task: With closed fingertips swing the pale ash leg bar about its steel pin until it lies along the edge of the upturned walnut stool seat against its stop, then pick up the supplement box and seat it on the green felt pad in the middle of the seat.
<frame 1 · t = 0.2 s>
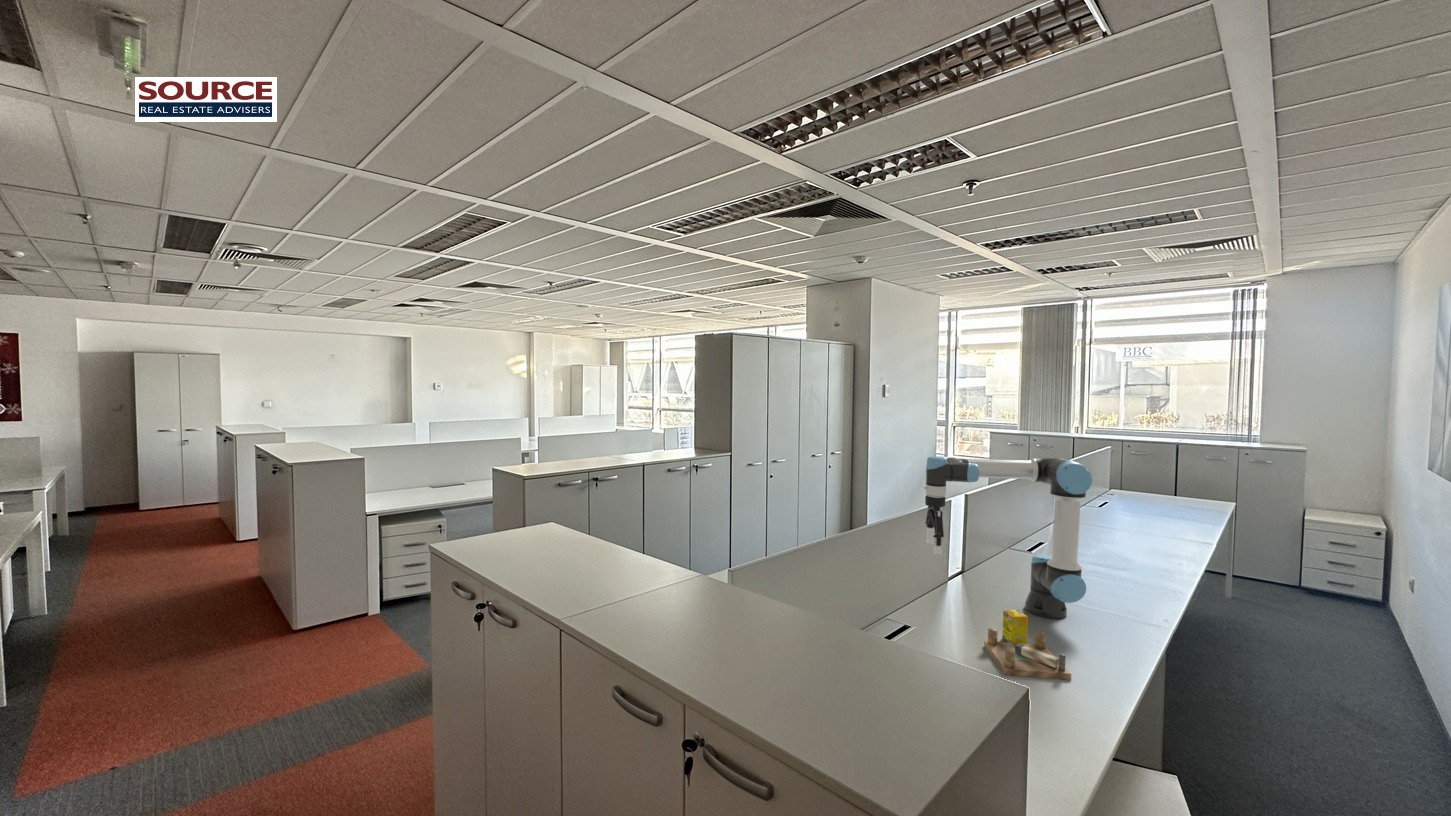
hand: (933, 548, 225), 28 cm above the table, fingers open, 13 cm apart
supplement box: (1014, 642, 205), on the table
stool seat: (1025, 662, 190), on the table
stool leg: (1036, 655, 188), point 4 cm above the table, hinge at -45.0°
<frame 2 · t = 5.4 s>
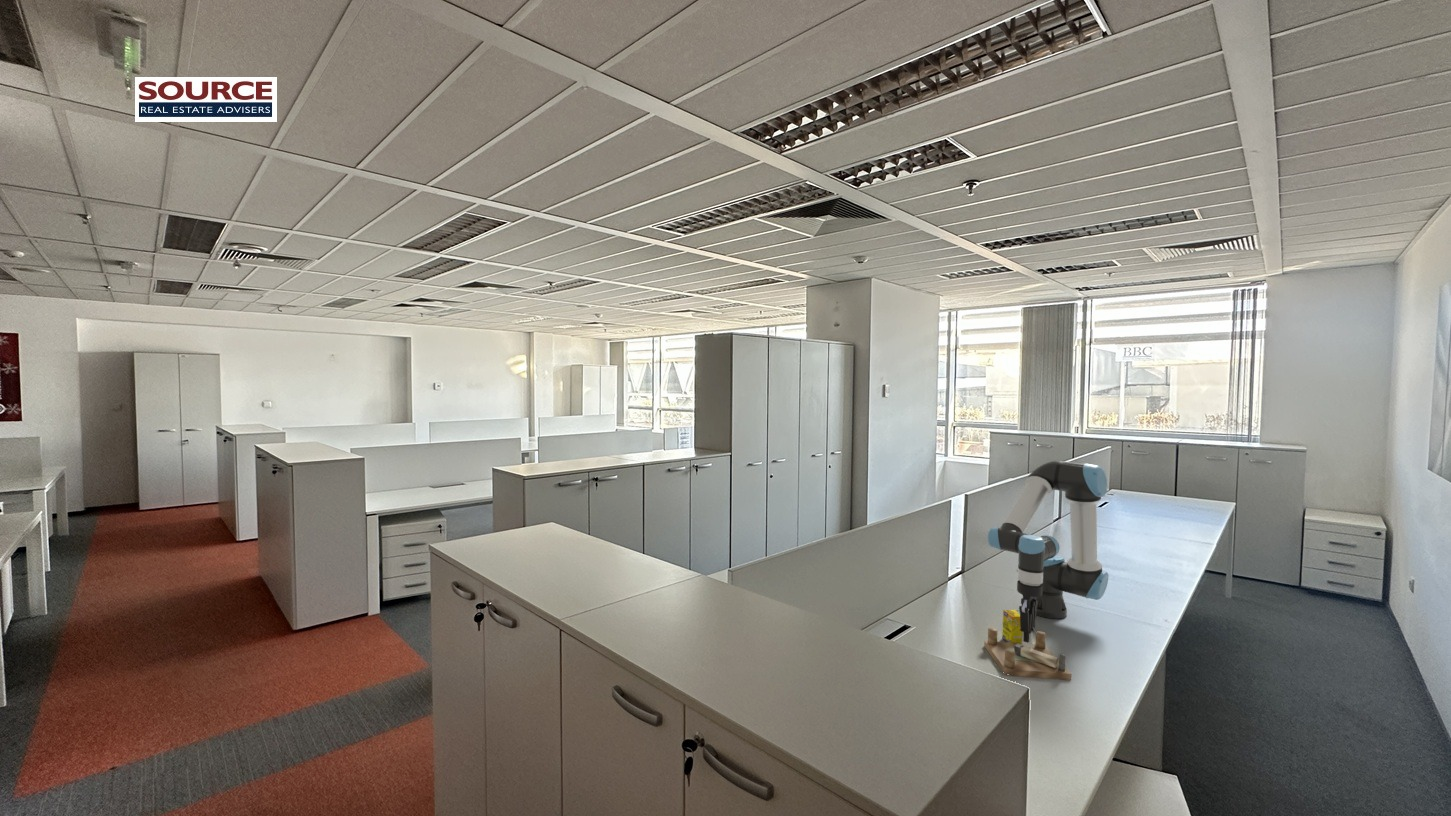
hand: (1026, 650, 191), 4 cm above the table, fingers closed
stool leg: (1035, 655, 187), point 4 cm above the table, hinge at -42.3°, touching gripper
everything else where it was.
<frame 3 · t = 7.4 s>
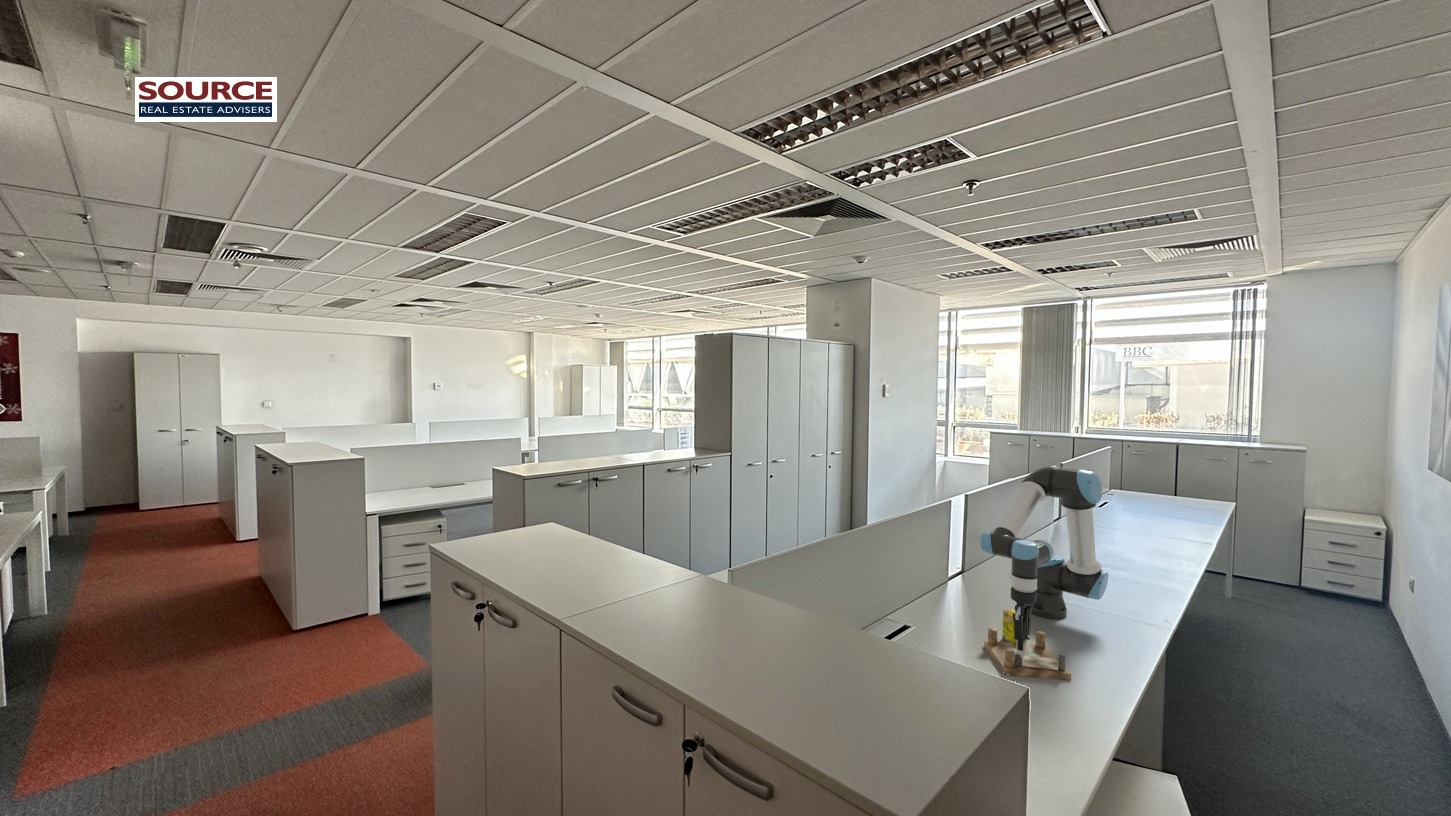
hand: (1021, 658, 186), 3 cm above the table, fingers closed
stool leg: (1035, 662, 183), point 4 cm above the table, hinge at -4.6°, touching gripper
everything else where it was.
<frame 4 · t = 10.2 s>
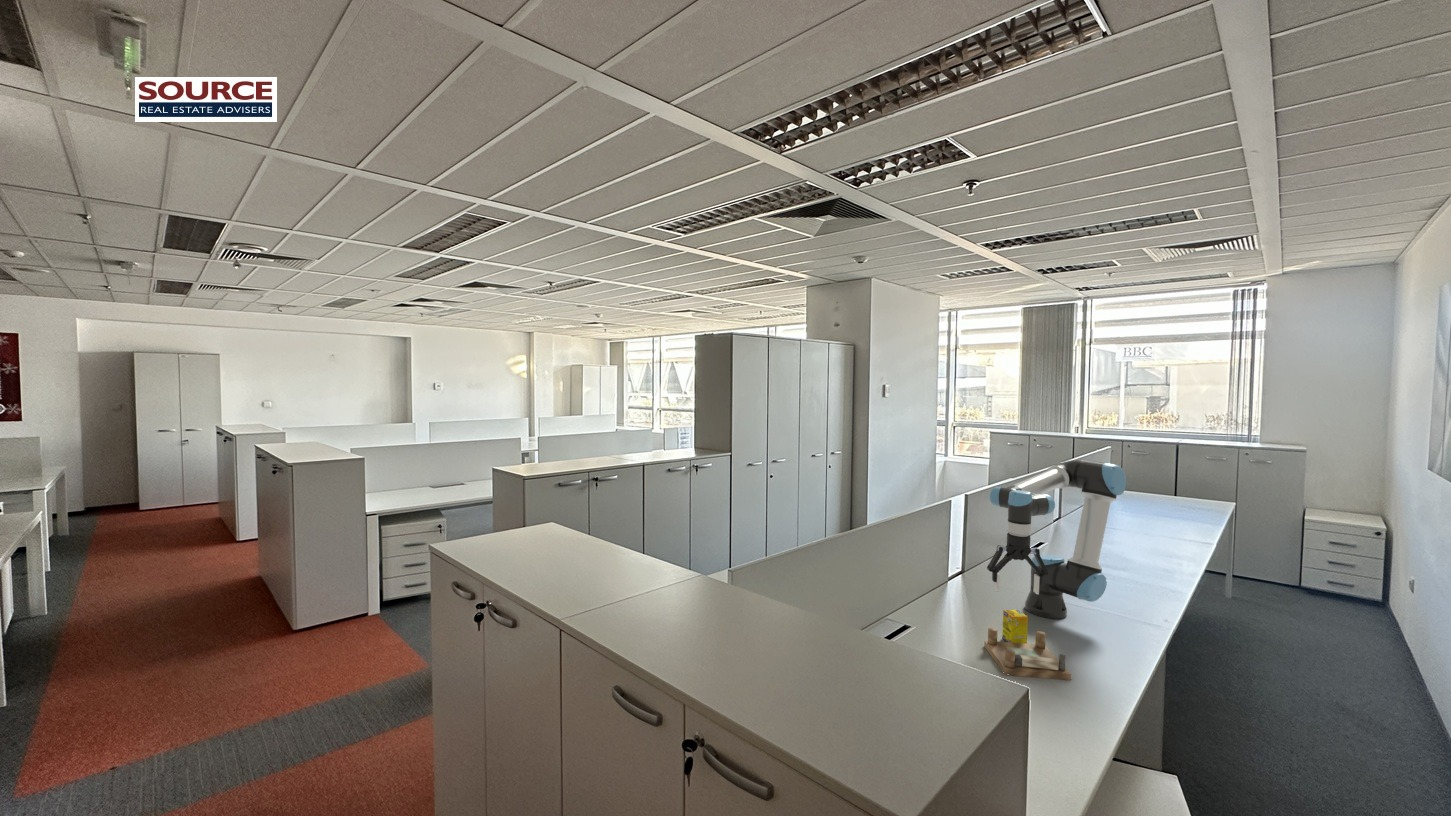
hand: (1016, 591, 204), 19 cm above the table, fingers open, 13 cm apart
stool leg: (1035, 662, 183), point 4 cm above the table, hinge at -4.3°
everything else where it was.
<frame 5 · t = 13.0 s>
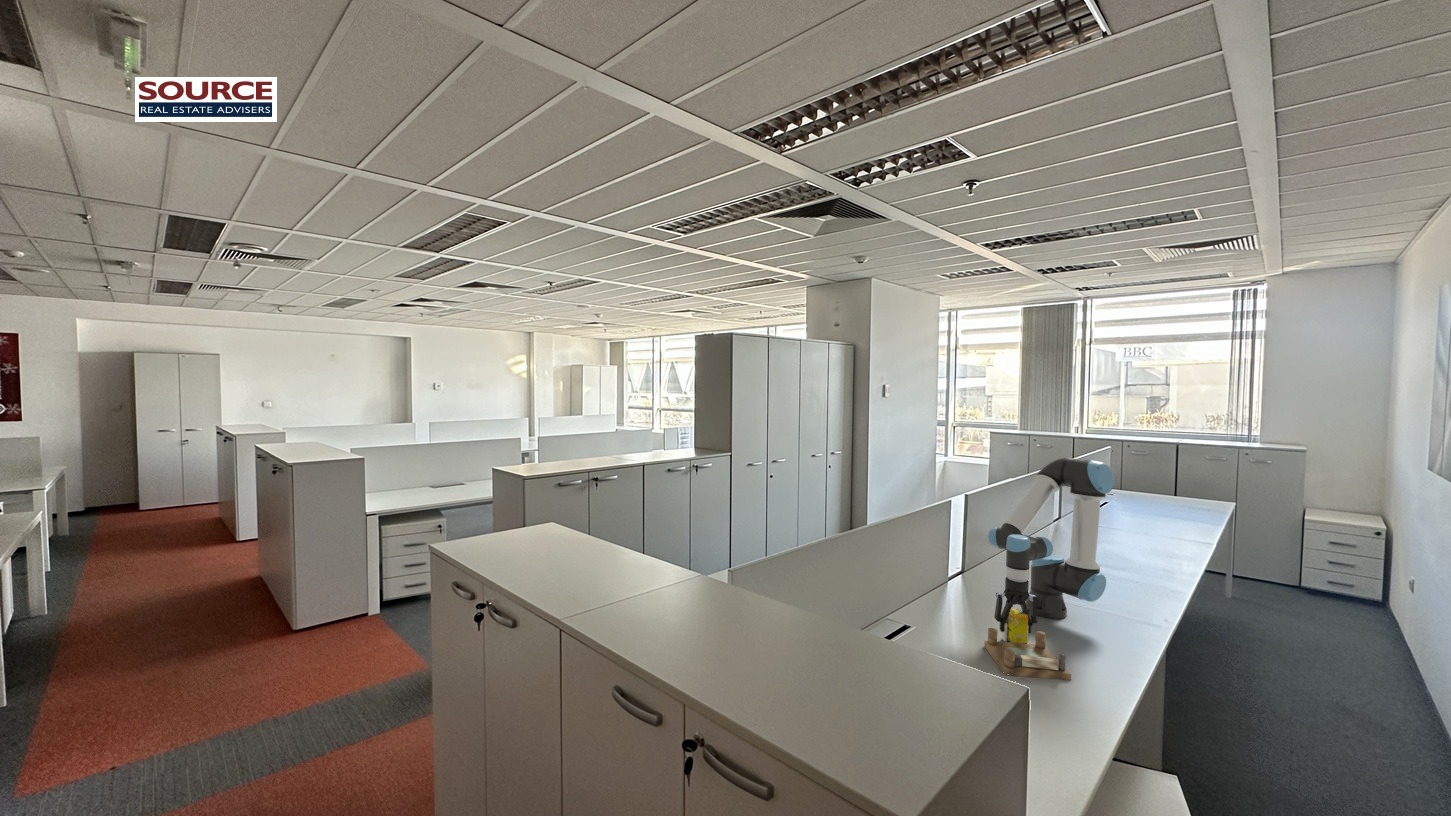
hand: (1014, 640, 205), 1 cm above the table, fingers closed on supplement box, 6 cm apart
supplement box: (1014, 641, 205), on the table, touching gripper
everything else where it was.
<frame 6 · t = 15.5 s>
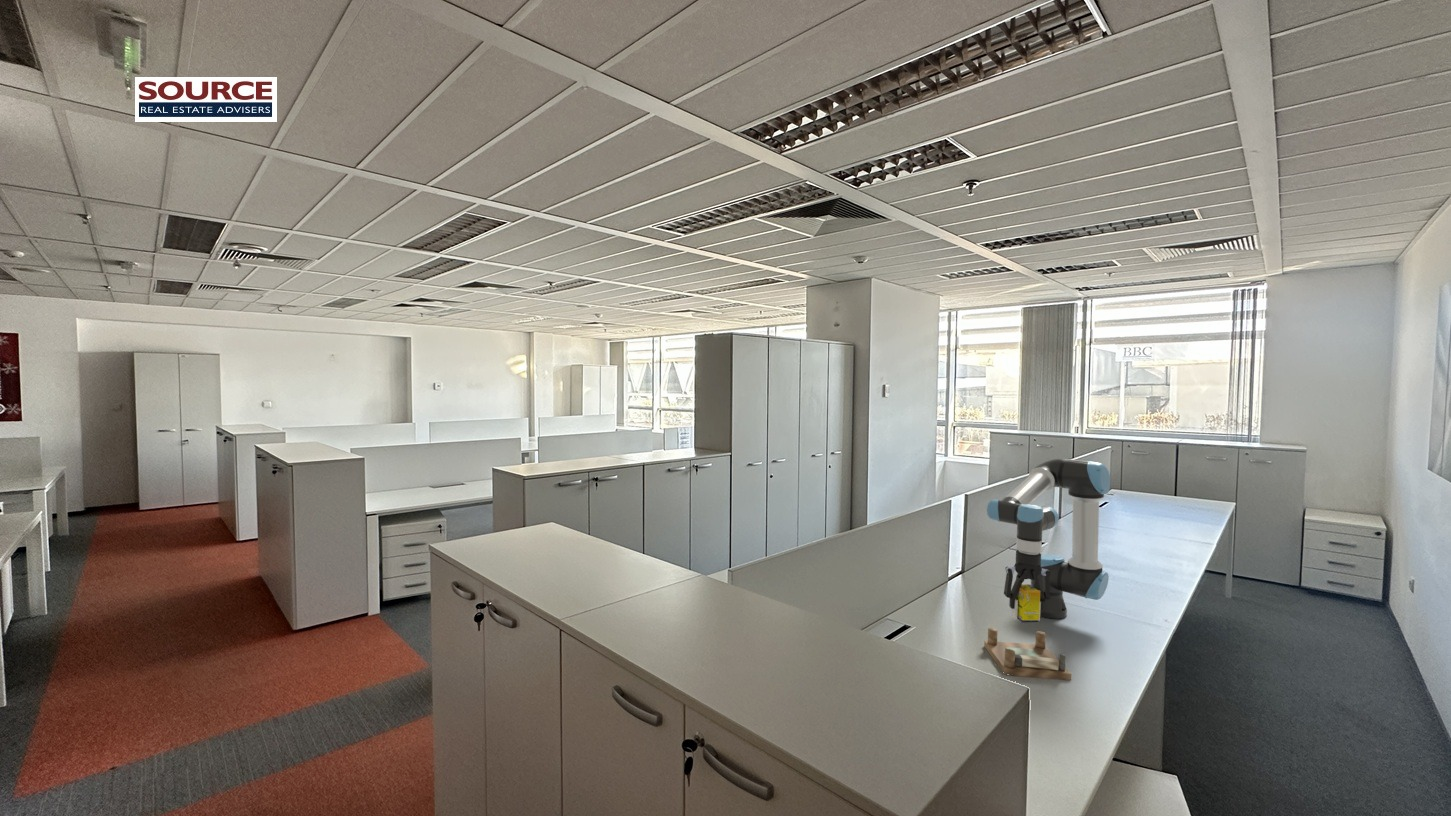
hand: (1025, 618, 191), 15 cm above the table, fingers closed on supplement box, 6 cm apart
supplement box: (1025, 619, 191), point 14 cm above the table, touching gripper
everything else where it was.
when the fingers open (4 cm above the table, at t = 17.7 s): supplement box drops 1 cm, resting on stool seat.
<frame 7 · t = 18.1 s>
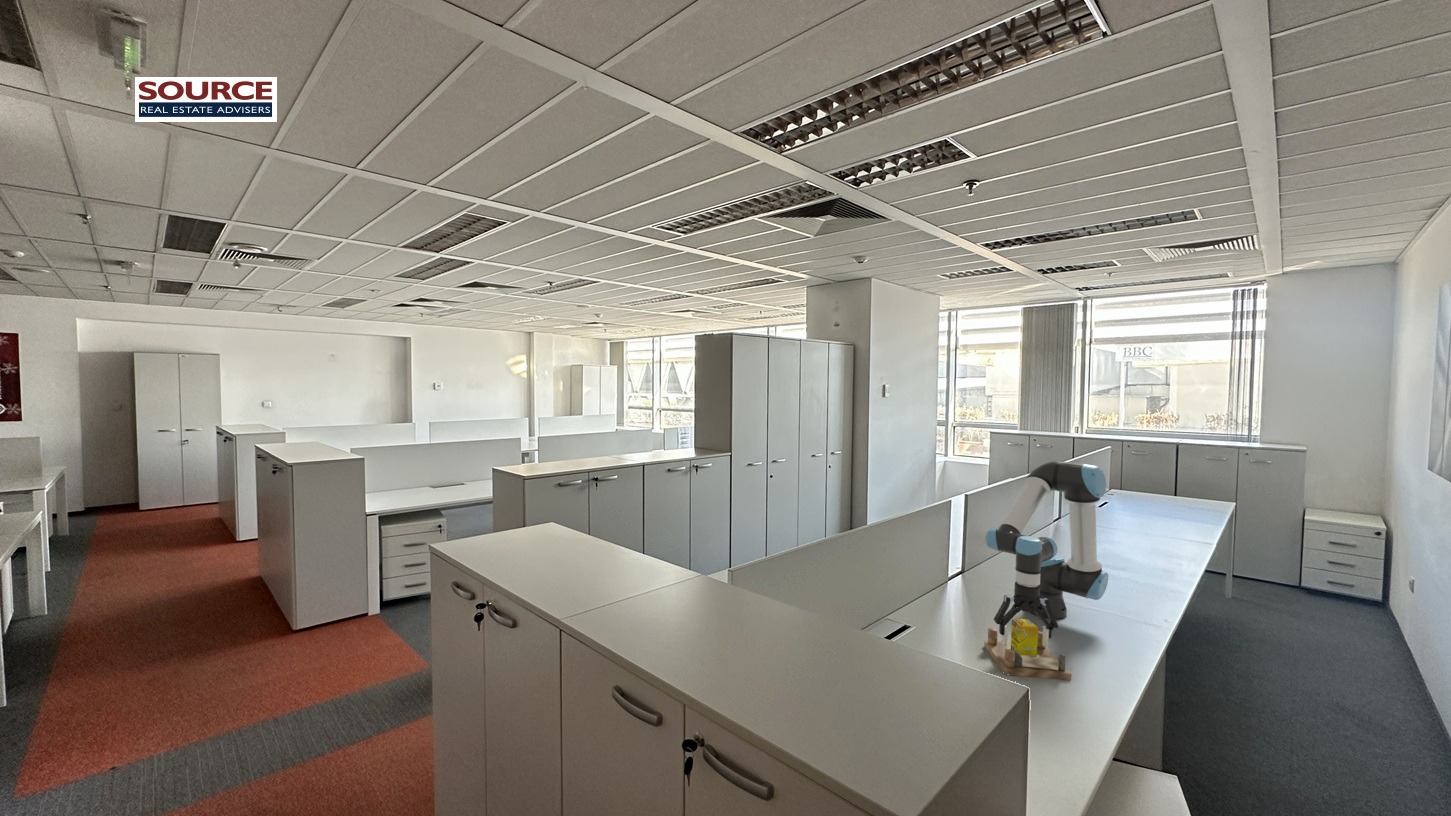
hand: (1024, 645, 191), 5 cm above the table, fingers open, 12 cm apart
supplement box: (1023, 654, 192), point 2 cm above the table, touching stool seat
everything else where it was.
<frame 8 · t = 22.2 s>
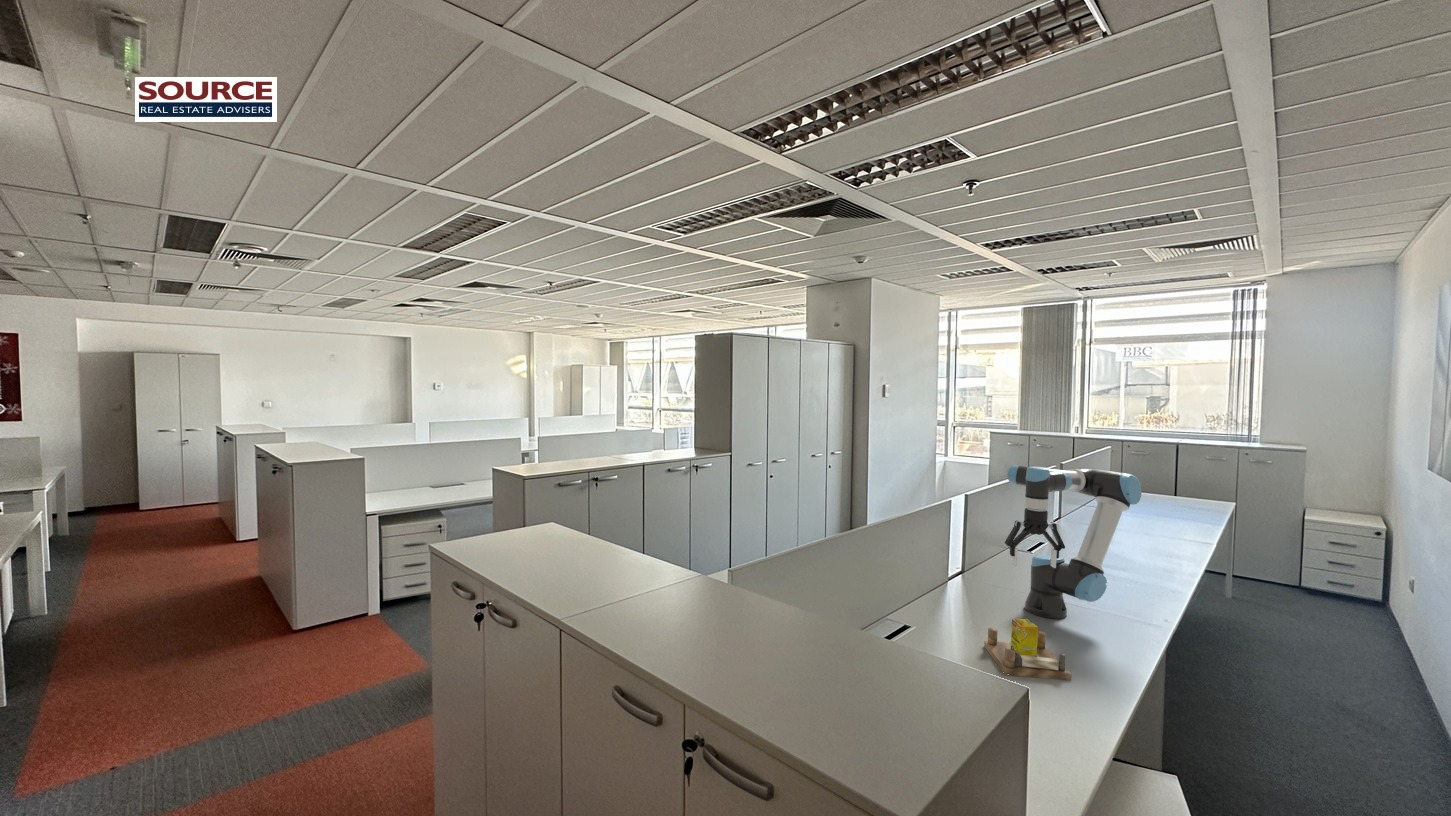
hand: (1033, 565, 209), 27 cm above the table, fingers open, 13 cm apart
nothing on the table moved.
at the end: stool leg at -4° (first picture: -45°); supplement box inside the target area on the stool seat (0.2 cm from its centre), point 2.0 cm above the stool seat's base; supplement box tilted 0° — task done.
